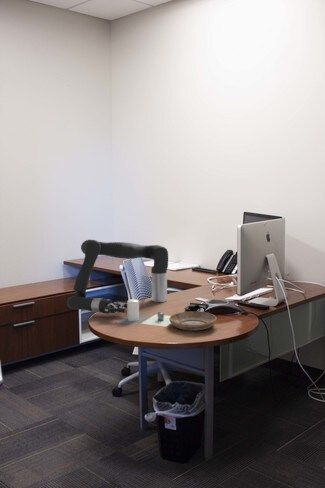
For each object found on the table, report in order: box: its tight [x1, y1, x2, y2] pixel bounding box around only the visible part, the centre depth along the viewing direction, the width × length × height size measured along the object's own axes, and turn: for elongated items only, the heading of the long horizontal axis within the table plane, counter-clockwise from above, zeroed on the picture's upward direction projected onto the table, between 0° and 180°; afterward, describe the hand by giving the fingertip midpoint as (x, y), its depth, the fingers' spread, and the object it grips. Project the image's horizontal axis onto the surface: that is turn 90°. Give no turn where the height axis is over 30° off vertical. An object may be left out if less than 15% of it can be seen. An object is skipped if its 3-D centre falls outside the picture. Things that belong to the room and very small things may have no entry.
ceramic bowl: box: [169, 311, 217, 331], centre depth 256 cm, size 23×24×5 cm
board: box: [140, 313, 172, 328], centre depth 267 cm, size 18×14×1 cm
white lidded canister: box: [126, 298, 140, 321], centre depth 268 cm, size 6×6×10 cm
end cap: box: [187, 302, 210, 313], centre depth 275 cm, size 10×7×7 cm
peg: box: [157, 311, 165, 321], centre depth 267 cm, size 3×3×4 cm
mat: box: [115, 314, 151, 326], centre depth 269 cm, size 16×12×1 cm
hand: (128, 308), depth 270 cm, fingers open, 8 cm apart
